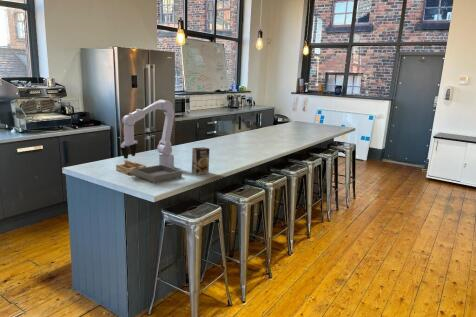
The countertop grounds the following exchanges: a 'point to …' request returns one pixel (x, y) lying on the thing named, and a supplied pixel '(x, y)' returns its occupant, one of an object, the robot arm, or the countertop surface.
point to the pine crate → (128, 167)
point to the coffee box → (200, 161)
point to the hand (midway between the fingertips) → (129, 157)
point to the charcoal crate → (157, 173)
